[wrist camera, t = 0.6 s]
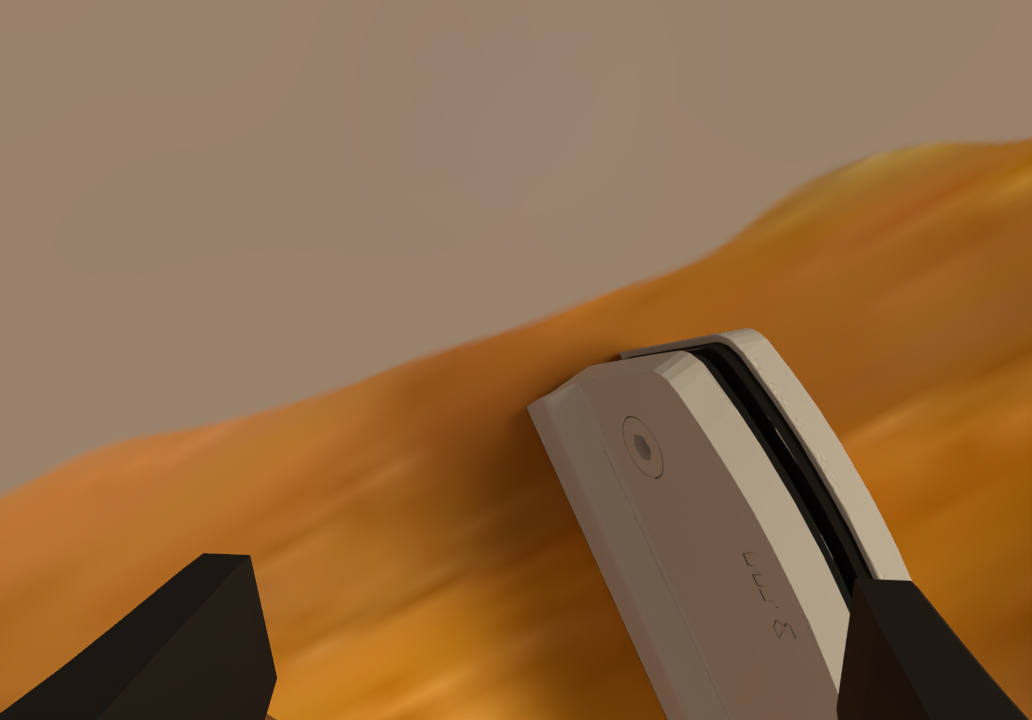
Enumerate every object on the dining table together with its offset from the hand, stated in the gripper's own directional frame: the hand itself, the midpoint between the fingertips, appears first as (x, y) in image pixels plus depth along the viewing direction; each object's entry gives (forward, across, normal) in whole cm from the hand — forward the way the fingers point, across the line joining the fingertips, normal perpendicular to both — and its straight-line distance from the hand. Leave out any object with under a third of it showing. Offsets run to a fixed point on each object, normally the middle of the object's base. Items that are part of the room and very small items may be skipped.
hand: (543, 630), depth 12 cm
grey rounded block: (+20, -4, +15) cm, 25 cm away
